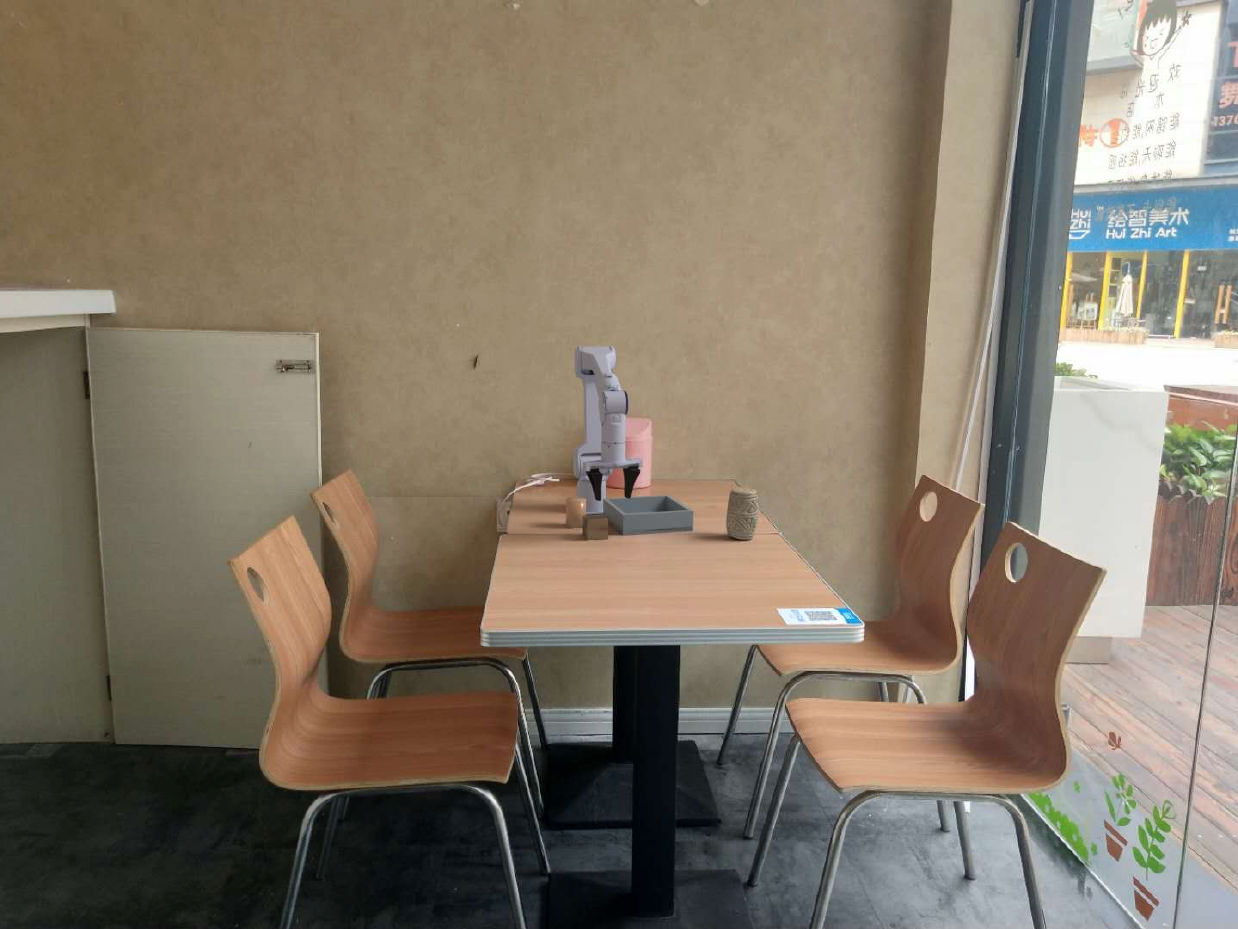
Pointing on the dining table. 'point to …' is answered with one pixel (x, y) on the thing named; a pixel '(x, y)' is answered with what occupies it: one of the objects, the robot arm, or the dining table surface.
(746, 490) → the carving
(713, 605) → the dining table surface
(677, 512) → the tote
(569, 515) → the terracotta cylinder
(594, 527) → the walnut cube
